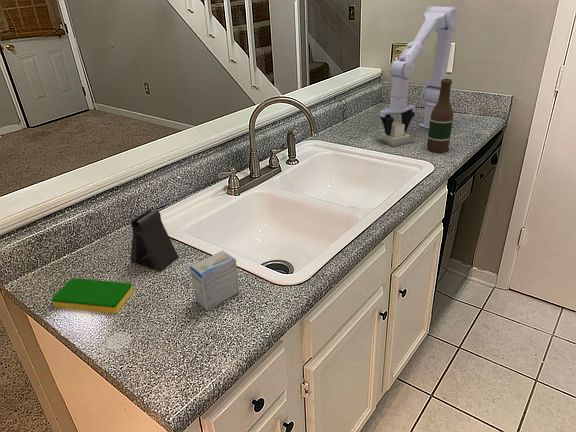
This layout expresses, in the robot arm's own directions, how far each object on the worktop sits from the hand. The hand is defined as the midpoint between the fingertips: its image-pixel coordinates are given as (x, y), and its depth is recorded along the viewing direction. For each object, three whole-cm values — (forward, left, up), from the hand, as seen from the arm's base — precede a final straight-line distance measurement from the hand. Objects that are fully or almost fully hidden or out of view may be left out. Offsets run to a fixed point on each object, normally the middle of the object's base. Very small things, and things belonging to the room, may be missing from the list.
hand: (395, 132), depth 165 cm
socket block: (0, 0, -3) cm, 3 cm away
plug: (0, 0, -3) cm, 3 cm away
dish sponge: (+111, +41, -4) cm, 118 cm away
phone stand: (+97, +33, -3) cm, 103 cm away
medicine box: (+89, +53, -3) cm, 104 cm away
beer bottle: (-6, +15, -3) cm, 17 cm away
